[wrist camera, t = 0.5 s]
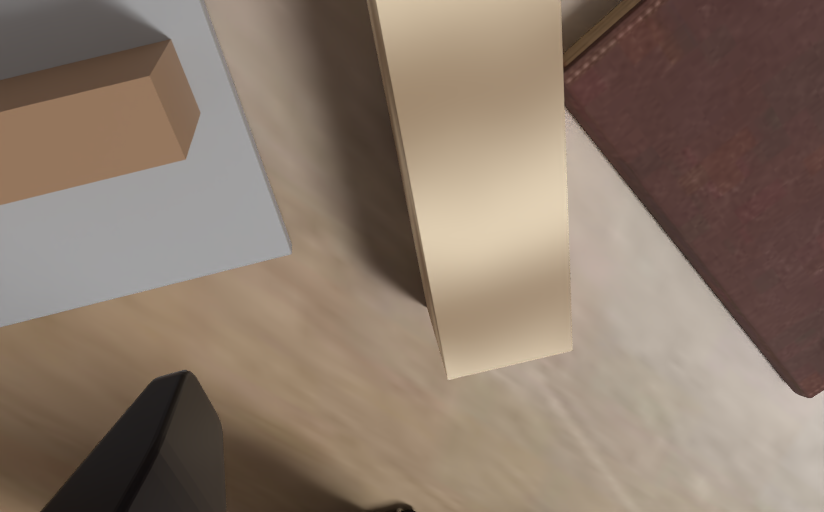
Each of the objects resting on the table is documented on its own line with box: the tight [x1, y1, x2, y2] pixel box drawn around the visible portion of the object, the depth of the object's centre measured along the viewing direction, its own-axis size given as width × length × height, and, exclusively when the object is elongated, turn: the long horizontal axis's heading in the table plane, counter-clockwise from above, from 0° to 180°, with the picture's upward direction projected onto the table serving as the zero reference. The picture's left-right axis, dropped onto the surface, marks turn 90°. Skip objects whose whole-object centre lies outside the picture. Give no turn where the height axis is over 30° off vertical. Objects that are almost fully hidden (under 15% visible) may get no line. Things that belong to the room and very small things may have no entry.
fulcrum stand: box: [0, 0, 292, 327], centre depth 16 cm, size 12×10×4 cm
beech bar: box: [366, 0, 573, 380], centre depth 17 cm, size 18×4×4 cm, turn 10°
